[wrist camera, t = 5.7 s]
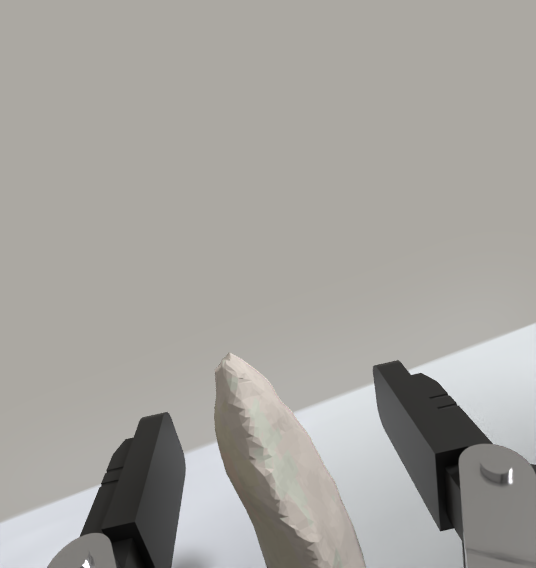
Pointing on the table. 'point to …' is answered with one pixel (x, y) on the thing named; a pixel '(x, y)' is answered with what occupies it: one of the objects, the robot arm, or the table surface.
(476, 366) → the table surface
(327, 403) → the table surface
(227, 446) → the arrowhead
